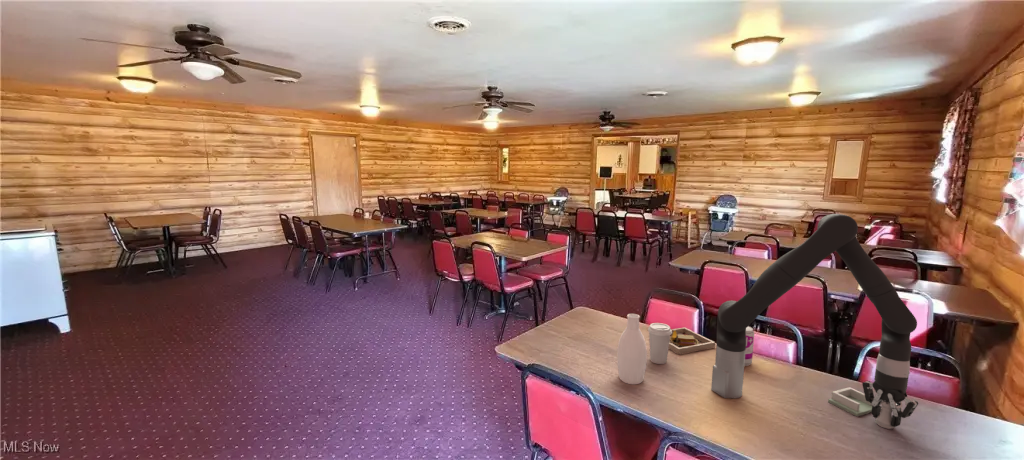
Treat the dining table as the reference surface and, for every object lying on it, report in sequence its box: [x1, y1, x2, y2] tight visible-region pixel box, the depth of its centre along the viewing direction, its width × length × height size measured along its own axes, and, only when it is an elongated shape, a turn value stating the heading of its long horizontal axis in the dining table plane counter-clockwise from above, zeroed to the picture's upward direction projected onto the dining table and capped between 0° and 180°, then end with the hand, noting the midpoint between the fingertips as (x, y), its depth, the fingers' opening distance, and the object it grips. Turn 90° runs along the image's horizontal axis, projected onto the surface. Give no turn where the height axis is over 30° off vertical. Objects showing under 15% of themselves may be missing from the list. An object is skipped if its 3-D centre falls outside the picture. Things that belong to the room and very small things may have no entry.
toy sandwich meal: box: [670, 330, 700, 347], centre depth 192 cm, size 12×14×5 cm
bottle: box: [616, 313, 648, 385], centre depth 158 cm, size 11×11×25 cm
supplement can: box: [744, 325, 755, 367], centre depth 172 cm, size 8×8×15 cm
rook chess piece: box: [875, 400, 895, 430], centre depth 130 cm, size 4×4×8 cm
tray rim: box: [668, 326, 716, 355], centre depth 192 cm, size 20×19×2 cm
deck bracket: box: [827, 386, 872, 417], centre depth 141 cm, size 12×9×4 cm
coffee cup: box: [647, 322, 672, 365], centre depth 174 cm, size 10×10×15 cm
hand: (885, 421), depth 130 cm, fingers closed on rook chess piece, 4 cm apart
